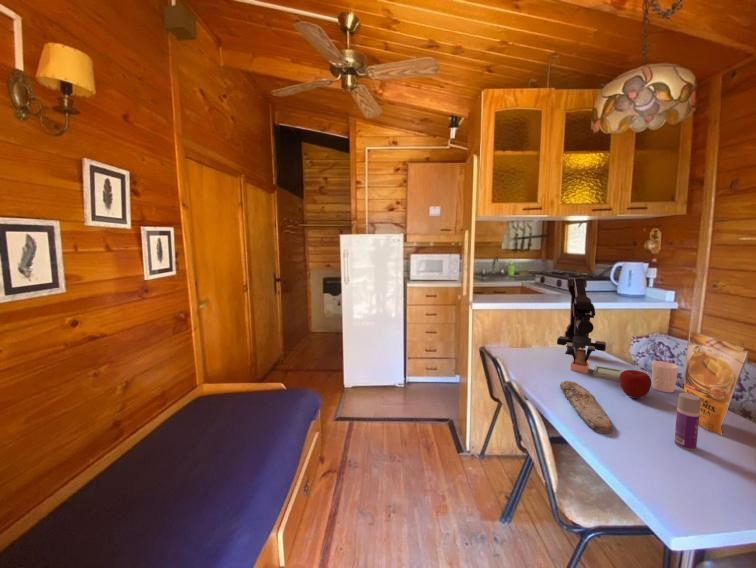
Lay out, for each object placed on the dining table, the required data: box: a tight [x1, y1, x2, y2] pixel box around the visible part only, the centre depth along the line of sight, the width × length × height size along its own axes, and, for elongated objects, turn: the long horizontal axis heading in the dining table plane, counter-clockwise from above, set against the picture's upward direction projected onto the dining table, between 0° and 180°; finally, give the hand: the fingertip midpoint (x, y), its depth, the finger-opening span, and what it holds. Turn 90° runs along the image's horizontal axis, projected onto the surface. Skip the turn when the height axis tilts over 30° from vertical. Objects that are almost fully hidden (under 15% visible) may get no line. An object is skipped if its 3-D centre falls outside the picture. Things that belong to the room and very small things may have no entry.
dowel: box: [575, 348, 587, 366], centre depth 153 cm, size 4×4×9 cm
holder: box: [569, 359, 591, 374], centre depth 154 cm, size 7×7×4 cm
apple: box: [619, 369, 652, 399], centre depth 127 cm, size 10×10×10 cm
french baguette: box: [559, 380, 613, 435], centre depth 120 cm, size 35×5×10 cm
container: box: [673, 392, 700, 451], centre depth 96 cm, size 5×5×15 cm
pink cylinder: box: [651, 360, 679, 393], centre depth 132 cm, size 8×8×10 cm
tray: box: [592, 365, 623, 382], centre depth 147 cm, size 12×10×2 cm
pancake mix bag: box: [683, 331, 749, 436], centre depth 107 cm, size 7×19×28 cm, turn 172°
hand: (580, 361), depth 153 cm, fingers closed on dowel, 4 cm apart
